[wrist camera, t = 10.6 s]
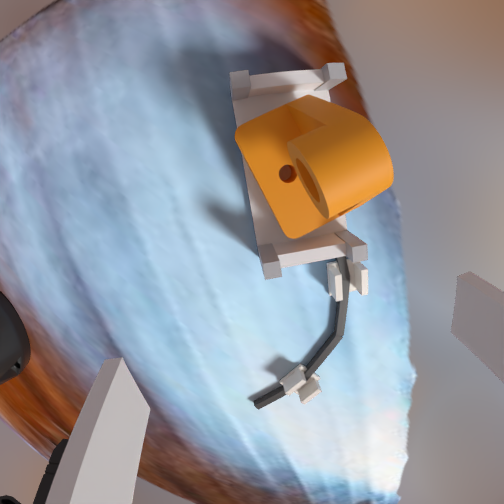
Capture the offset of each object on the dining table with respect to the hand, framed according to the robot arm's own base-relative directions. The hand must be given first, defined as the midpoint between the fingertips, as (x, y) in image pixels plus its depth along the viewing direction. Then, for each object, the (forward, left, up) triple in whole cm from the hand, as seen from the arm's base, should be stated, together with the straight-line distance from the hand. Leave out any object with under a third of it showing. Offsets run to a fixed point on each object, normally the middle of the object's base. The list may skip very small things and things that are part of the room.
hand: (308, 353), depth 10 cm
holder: (+4, +5, -20) cm, 21 cm away
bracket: (+4, +5, -20) cm, 21 cm away
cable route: (+3, -14, -20) cm, 24 cm away
